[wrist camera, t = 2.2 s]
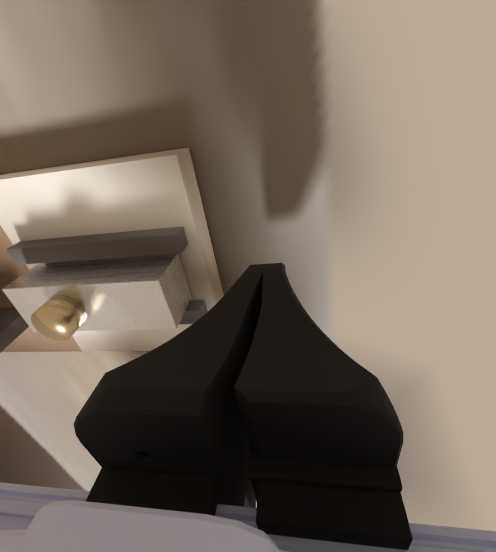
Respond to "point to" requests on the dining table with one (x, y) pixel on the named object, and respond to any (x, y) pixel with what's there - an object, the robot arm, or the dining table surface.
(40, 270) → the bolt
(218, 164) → the dining table surface
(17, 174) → the door and jamb
